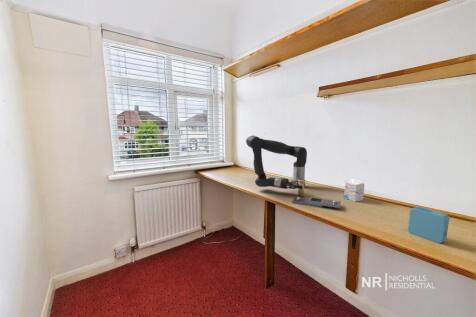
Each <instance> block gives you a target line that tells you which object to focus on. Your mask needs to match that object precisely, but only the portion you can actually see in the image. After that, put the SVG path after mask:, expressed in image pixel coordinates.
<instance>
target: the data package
mask: <svg viewBox="0 0 476 317" xmlns="http://www.w3.org/2000/svg"><path fill="white" fill-rule="evenodd" d="M449 223H450V216H449V214H446V213H444V212H440V211H437V210H433V209H428V208H424V207H420V206H415V207H413V208H411V209H410V210H409V216H408V225H407V226H408V227H407V231H408V233H410V234H412V235H415V236H417V237H420V238H423V239H426V240H428V241H430V242H431V241H432V242H434V243H436V244H442V243H443V242H445V241H446V240H447V235H448V229H449Z"/></svg>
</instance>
